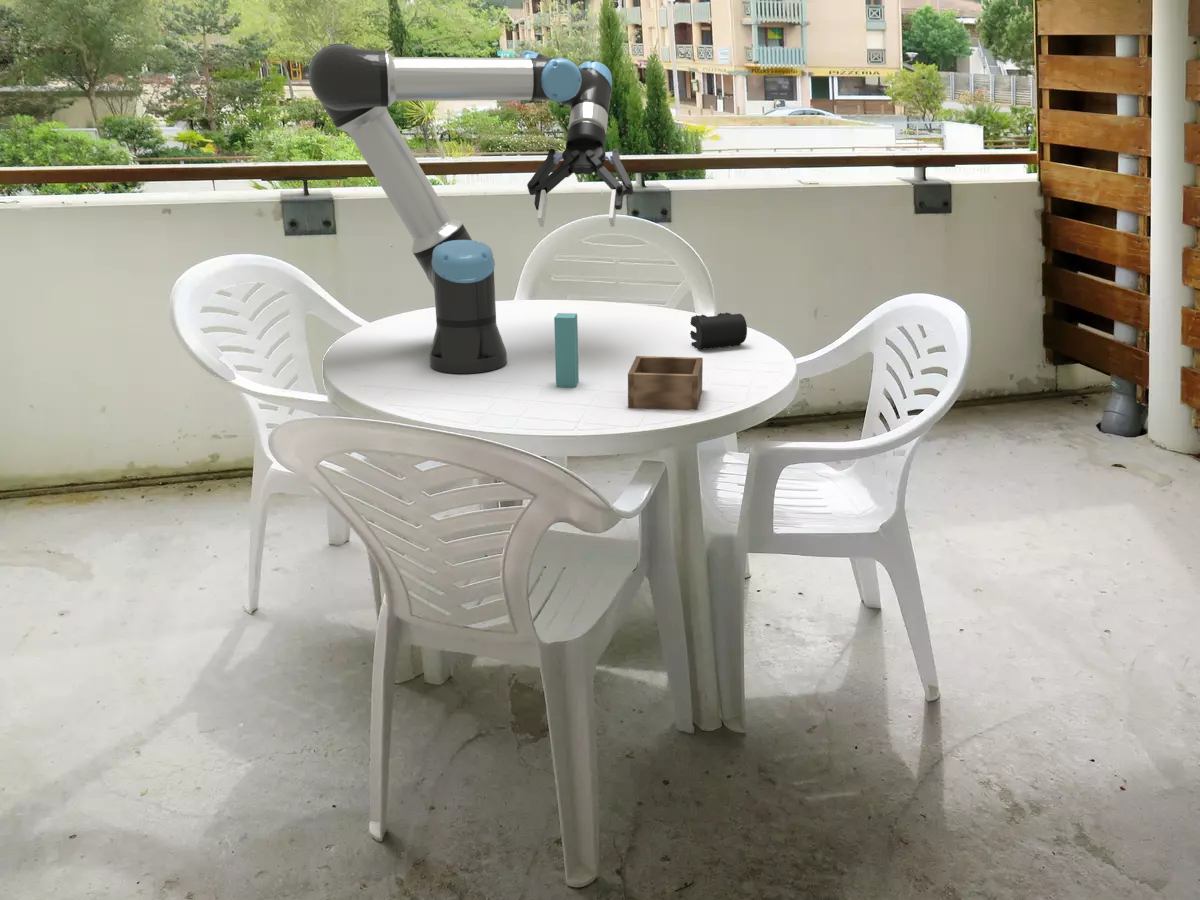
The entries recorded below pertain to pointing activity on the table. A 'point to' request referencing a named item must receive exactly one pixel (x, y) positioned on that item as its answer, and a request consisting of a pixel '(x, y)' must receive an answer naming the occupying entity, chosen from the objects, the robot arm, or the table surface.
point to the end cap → (718, 330)
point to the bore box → (665, 382)
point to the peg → (566, 349)
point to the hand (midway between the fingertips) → (575, 222)
